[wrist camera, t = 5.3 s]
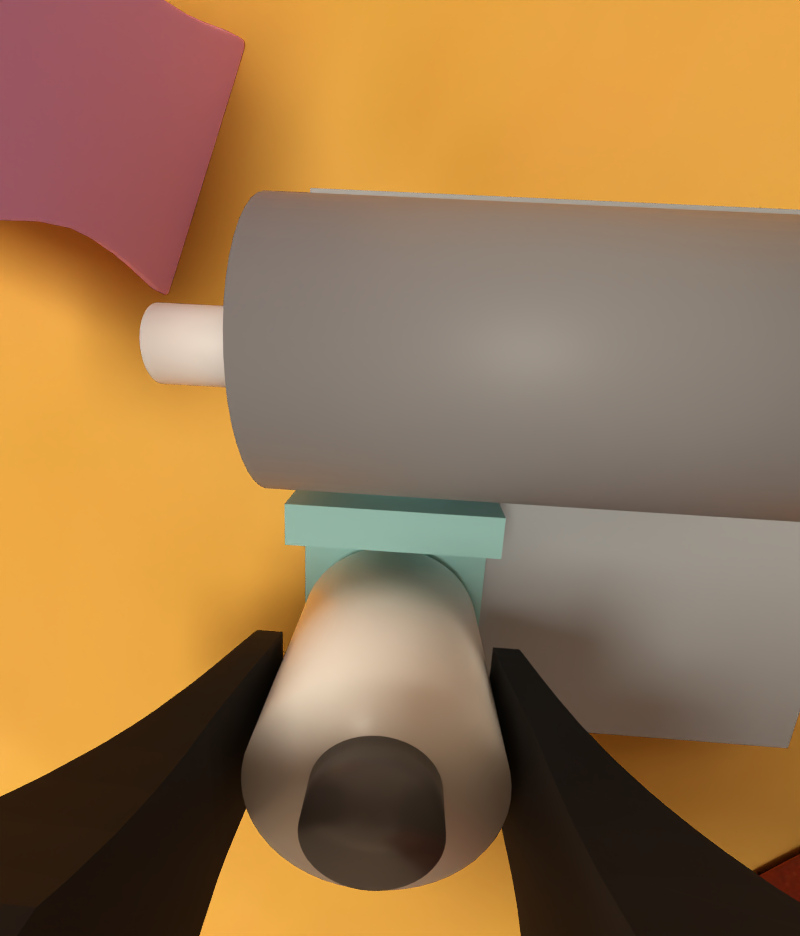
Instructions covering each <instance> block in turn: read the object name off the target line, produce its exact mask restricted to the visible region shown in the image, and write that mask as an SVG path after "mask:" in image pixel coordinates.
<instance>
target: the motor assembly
mask: <svg viewBox="0 0 800 936" xmlns="http://www.w3.org/2000/svg"><path fill="white" fill-rule="evenodd" d="M140 350H141V355H142V359H143V362H144V365H145V367H146V369H147V371H148V373H149V374H150V376H151V377H152V378H153V379H154V380H155V381H157V382H159V383H162V384H178V385H195V386H213V387H226V393H227V401H228V407H229V412H230V418H231V423H232V428H233V432H234V435H235V439H236V443H237V446H238V449H239V452H240V455H241V458H242V460H243V462H244V464H245V466H246V469H247V471H248V472H249V474H250V475H251V477H252V478H253V480H254V481H255V482H256V483H257V484H258V485H260V486H262V487H264V488H273V489H288V490H296V491H295V492H294V493H293V495H292V496H291V497H290V498H289V499H288V501H287V502H286V503H285V545H299V546H305V604H306V601H307V599H308V596H309V594H310V592H311V590H312V588H313V586H314V585H315V583H316V582H317V581H318V579H319V578H320V577H321V575H322V574H323V573H325V572H326V571H327V570H328V569H329V568H330V567H331V566H333V565H334V564H335V563H337V562H338V561H340V560H342V559H344V558H345V557H347V556H349V555H352V554H355V553H357V552H360V551H364V550H373V551H388V552H403V553H417V554H424V555H426V556H429V557H430V558H432V559H434V560H436V561H438V562H439V563H441V564H442V565H444V566H445V567H447V568H448V569H449V570H450V571H451V572H452V573H453V574H454V575H455V576H456V577H457V578H458V579H459V580H460V582H461V583H462V584H463V586H464V587H465V589H466V591H467V592H468V594H469V597H470V599H471V601H472V604H473V608H474V611H475V616H476V620H477V625H478V629H479V634H480V638H481V643H482V647H483V652H484V656H485V661H486V665H487V670H488V674H489V677H490V668H491V660H492V652H493V647H494V648H508V649H519V650H520V651H521V652H522V653H523V654H524V656H525V657H526V658H527V659H528V661H529V662H530V663H531V665H532V666H533V667H534V669H535V670H536V671H537V672H538V674H539V675H540V676H541V678H542V679H543V680H544V681H545V683H546V684H547V685H548V686H549V688H550V689H551V690H552V691H553V693H554V694H555V695H556V696H557V698H558V699H559V700H560V701H561V702H562V703H563V705H564V706H565V707H566V708H567V709H568V710H569V712H570V713H571V714H572V715H573V716H574V718H575V719H576V720H577V721H578V722H579V723H580V724H581V725H582V727H583V728H584V729H585V730H586V731H587V732H588V733H599V734H612V735H625V736H638V737H650V738H663V739H676V740H689V741H702V742H715V743H728V744H740V745H753V746H766V747H779V748H788V746H789V743H790V740H791V737H792V734H793V731H794V727H795V724H796V721H797V718H798V715H799V712H800V210H792V209H769V208H747V207H724V206H702V205H679V204H656V203H634V202H611V201H589V200H566V199H544V198H521V197H499V196H476V195H454V194H431V193H408V192H386V191H363V190H341V189H318V188H310V193H307V192H285V191H261V192H258V193H256V194H255V195H254V196H252V197H251V199H250V200H249V201H248V203H247V204H246V206H245V207H244V210H243V212H242V214H241V216H240V218H239V221H238V224H237V227H236V230H235V233H234V236H233V241H232V245H231V250H230V254H229V260H228V267H227V273H226V281H225V293H224V305H223V306H216V305H197V304H177V303H153V304H151V305H150V306H149V307H148V308H147V309H146V311H145V313H144V315H143V318H142V321H141V326H140Z"/></svg>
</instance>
